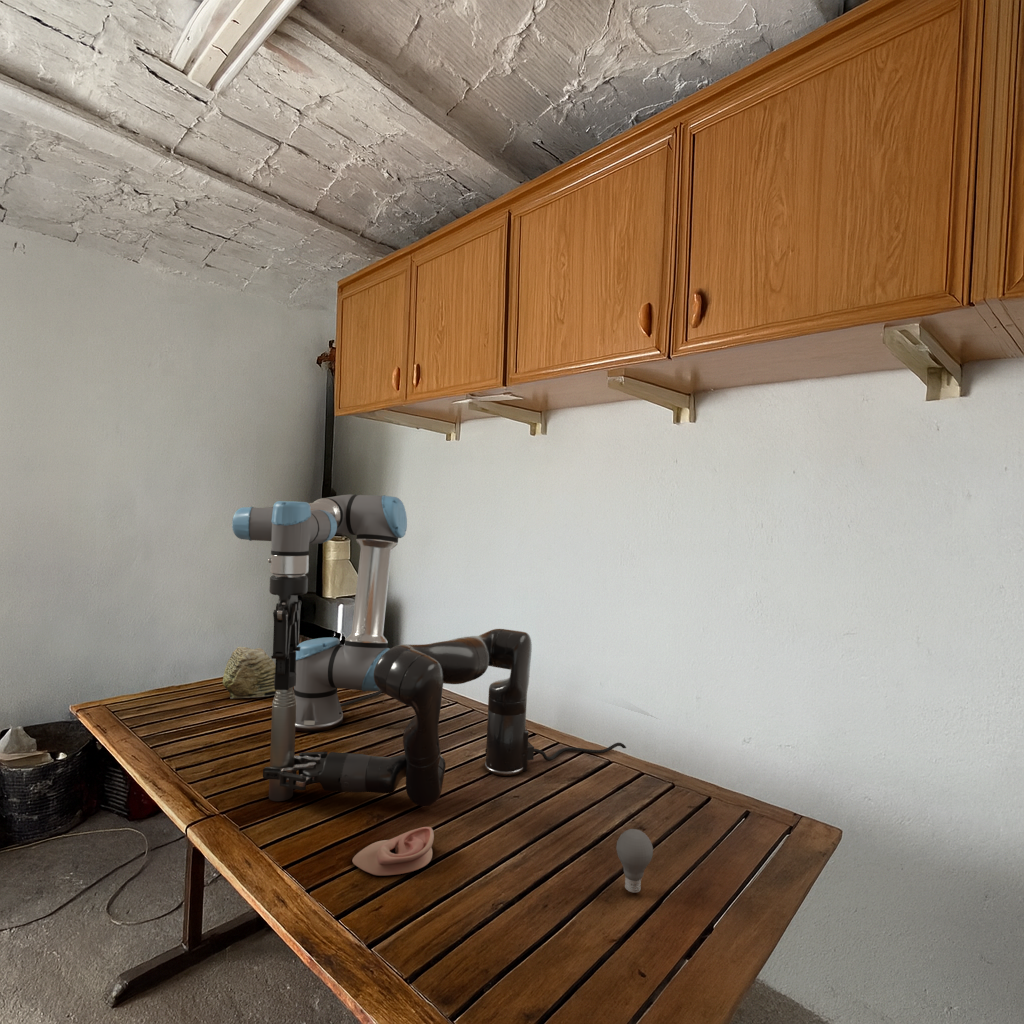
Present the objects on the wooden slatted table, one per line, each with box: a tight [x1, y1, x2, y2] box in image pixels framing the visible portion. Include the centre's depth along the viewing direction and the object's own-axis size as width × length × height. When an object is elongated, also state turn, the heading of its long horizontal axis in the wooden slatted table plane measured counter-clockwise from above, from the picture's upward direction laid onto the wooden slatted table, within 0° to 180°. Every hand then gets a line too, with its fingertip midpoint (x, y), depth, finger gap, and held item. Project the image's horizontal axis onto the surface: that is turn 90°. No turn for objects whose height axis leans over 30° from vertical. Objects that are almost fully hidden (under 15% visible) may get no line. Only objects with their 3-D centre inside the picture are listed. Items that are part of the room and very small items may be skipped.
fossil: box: [222, 646, 277, 699], centre depth 198 cm, size 9×18×15 cm, turn 132°
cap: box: [274, 672, 296, 688], centre depth 133 cm, size 4×4×2 cm
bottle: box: [268, 687, 296, 802], centre depth 133 cm, size 5×5×25 cm
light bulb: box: [615, 828, 654, 894], centre depth 106 cm, size 6×6×10 cm
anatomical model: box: [351, 826, 435, 877], centre depth 112 cm, size 13×4×12 cm
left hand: (285, 685), depth 133 cm, fingers closed on cap, 4 cm apart
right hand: (269, 767), depth 133 cm, fingers closed on bottle, 5 cm apart
